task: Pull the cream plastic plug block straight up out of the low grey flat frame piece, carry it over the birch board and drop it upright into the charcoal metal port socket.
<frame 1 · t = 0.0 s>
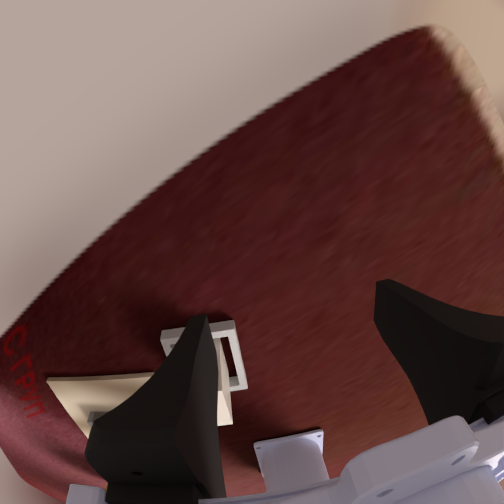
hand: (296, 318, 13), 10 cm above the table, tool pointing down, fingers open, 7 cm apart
plug: (206, 356, 26), resting in grey flat frame piece
grey flat frame piece: (206, 357, 26), on the table
port board: (127, 426, 29), on the table
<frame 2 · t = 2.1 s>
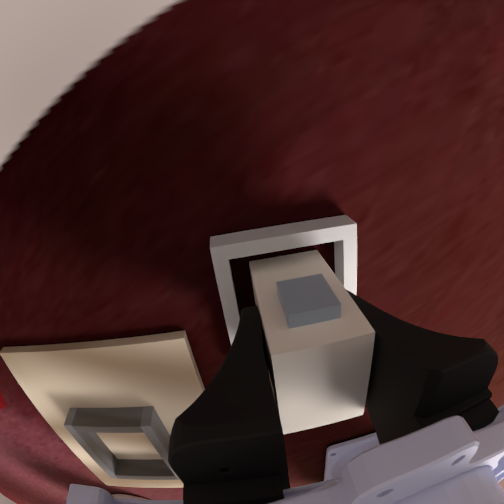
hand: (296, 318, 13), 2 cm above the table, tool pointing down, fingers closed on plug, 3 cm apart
supplement bottle: (134, 502, 23), on the table
plug: (287, 295, 15), resting in grey flat frame piece, touching gripper
grey flat frame piece: (287, 295, 15), on the table
port board: (131, 432, 18), on the table
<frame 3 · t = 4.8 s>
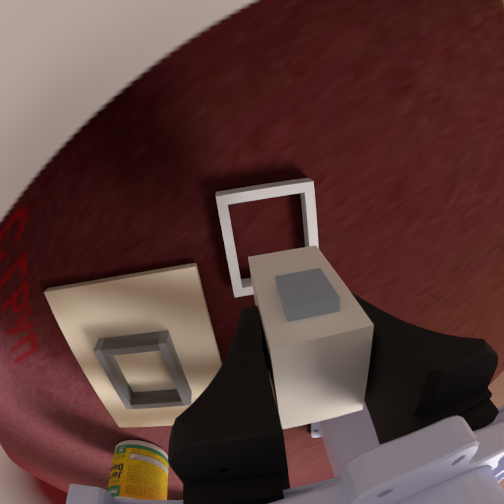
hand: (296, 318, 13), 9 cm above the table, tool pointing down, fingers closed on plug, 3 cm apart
supplement bottle: (142, 450, 30), on the table
plug: (286, 290, 15), point 7 cm above the table, touching gripper
grey flat frame piece: (269, 235, 21), on the table
port board: (147, 362, 24), on the table
when the fingers open (4 cm above the table, at t = 7.6 s): plug drops 1 cm, resting on port board.
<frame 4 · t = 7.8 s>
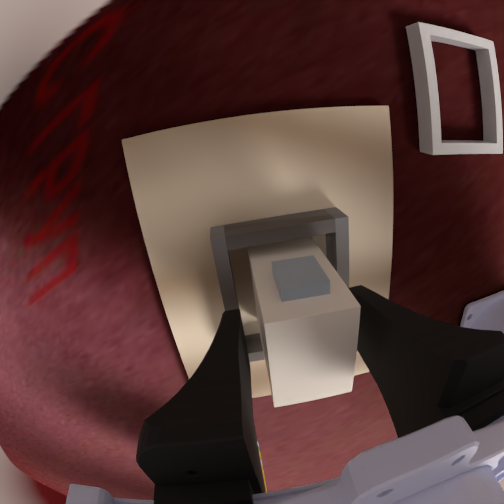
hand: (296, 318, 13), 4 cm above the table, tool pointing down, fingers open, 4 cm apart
plug: (282, 279, 16), point 1 cm above the table, touching port board
grey flat frame piece: (455, 91, 13), on the table
port board: (280, 277, 16), on the table
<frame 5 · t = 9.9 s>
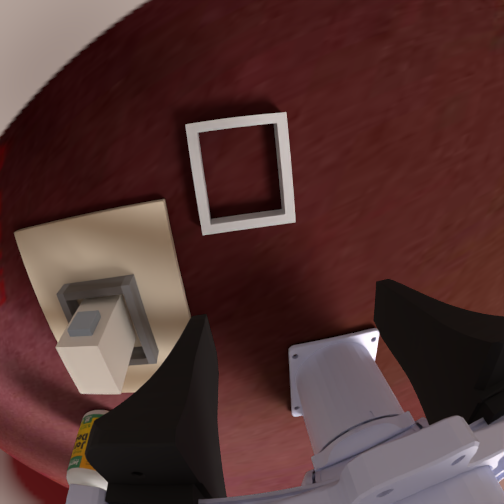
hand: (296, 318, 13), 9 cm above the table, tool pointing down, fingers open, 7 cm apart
supplement bottle: (111, 424, 28), on the table
plug: (110, 317, 22), point 1 cm above the table, touching port board
grey flat frame piece: (241, 171, 20), on the table
port board: (113, 314, 23), on the table
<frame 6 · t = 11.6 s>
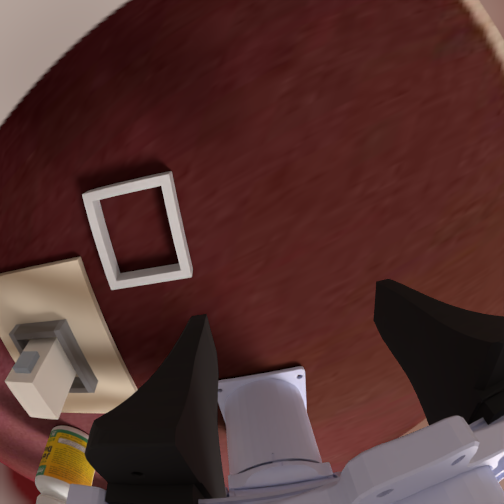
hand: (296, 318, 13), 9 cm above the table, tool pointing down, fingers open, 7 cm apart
supplement bottle: (75, 437, 29), on the table
plug: (55, 352, 23), point 1 cm above the table, touching port board
grey flat frame piece: (140, 230, 20), on the table
port board: (58, 349, 23), on the table
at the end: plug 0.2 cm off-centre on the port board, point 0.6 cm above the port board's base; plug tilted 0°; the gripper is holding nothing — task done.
